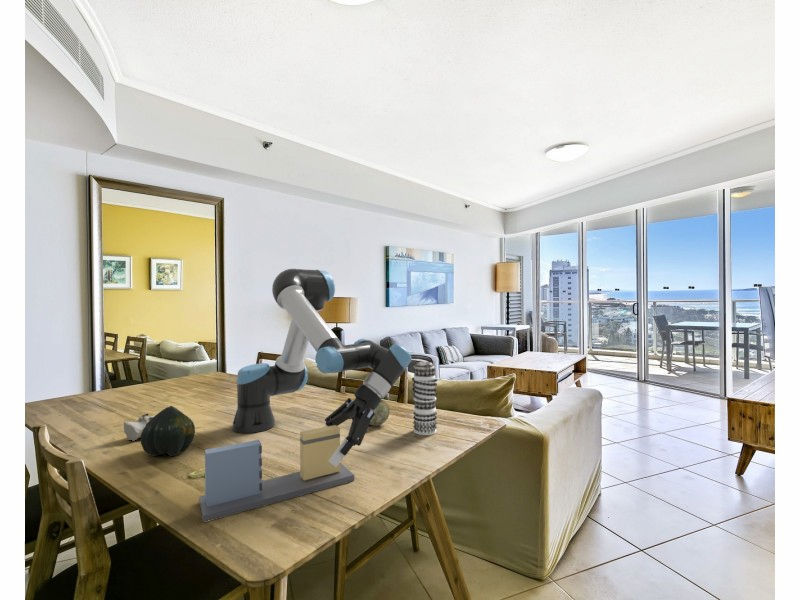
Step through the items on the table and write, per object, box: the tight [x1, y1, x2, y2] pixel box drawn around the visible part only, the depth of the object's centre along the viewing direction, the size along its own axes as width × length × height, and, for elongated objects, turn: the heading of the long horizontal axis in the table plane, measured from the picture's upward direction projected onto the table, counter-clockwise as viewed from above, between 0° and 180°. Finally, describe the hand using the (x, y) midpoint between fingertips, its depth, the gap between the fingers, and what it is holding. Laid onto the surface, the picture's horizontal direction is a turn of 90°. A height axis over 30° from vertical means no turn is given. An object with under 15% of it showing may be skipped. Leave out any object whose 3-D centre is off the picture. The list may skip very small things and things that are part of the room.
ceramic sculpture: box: [123, 413, 155, 442], centre depth 139 cm, size 11×9×15 cm
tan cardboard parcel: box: [299, 425, 341, 481], centre depth 103 cm, size 10×3×12 cm, turn 122°
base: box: [198, 462, 355, 523], centre depth 98 cm, size 36×10×2 cm, turn 122°
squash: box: [140, 405, 196, 457], centre depth 124 cm, size 14×15×15 cm
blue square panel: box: [204, 439, 263, 507], centre depth 92 cm, size 12×3×12 cm, turn 122°
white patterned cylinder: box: [411, 361, 438, 436], centre depth 141 cm, size 9×9×25 cm
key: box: [189, 467, 205, 477], centre depth 108 cm, size 7×12×2 cm, turn 76°
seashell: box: [369, 398, 391, 427], centre depth 151 cm, size 11×11×10 cm
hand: (322, 455), depth 104 cm, fingers open, 13 cm apart
